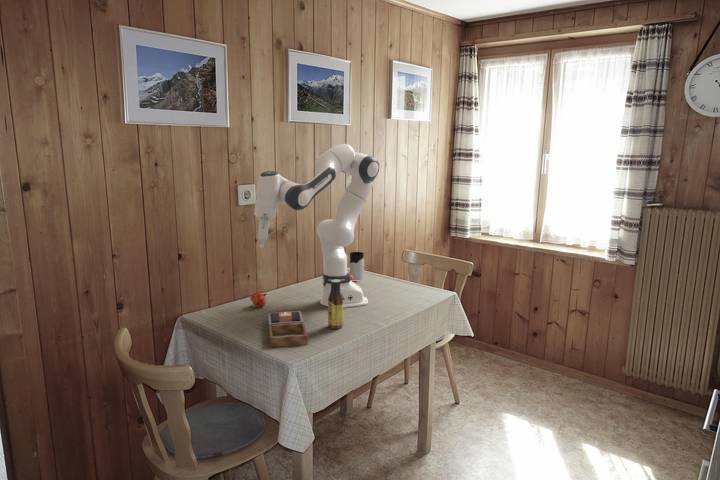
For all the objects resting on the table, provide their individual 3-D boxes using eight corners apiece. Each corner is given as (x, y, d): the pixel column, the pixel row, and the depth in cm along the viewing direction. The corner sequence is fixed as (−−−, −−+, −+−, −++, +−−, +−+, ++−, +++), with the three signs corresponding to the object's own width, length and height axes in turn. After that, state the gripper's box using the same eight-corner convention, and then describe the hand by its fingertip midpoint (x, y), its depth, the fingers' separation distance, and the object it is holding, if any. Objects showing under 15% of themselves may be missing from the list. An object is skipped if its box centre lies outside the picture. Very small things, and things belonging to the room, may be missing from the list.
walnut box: (304, 331, 202) (303, 322, 201) (307, 344, 189) (307, 335, 188) (269, 333, 199) (269, 325, 199) (270, 346, 186) (270, 338, 185)
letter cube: (291, 323, 211) (291, 311, 210) (292, 327, 207) (291, 315, 206) (279, 323, 210) (278, 312, 209) (279, 328, 206) (279, 316, 205)
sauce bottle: (327, 324, 210) (327, 278, 206) (342, 324, 210) (342, 277, 206) (328, 330, 203) (327, 282, 200) (343, 329, 204) (343, 282, 200)
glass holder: (359, 282, 273) (359, 255, 270) (337, 279, 280) (337, 252, 277) (367, 279, 280) (367, 252, 278) (346, 275, 287) (345, 249, 285)
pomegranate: (251, 315, 228) (269, 302, 227) (242, 302, 227) (259, 289, 226) (256, 311, 235) (272, 299, 234) (246, 299, 235) (263, 286, 234)
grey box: (300, 318, 216) (300, 310, 216) (303, 329, 203) (303, 321, 203) (268, 320, 214) (268, 312, 213) (269, 332, 201) (269, 323, 200)
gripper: (272, 218, 193) (269, 252, 197) (274, 207, 213) (270, 238, 216) (256, 216, 192) (252, 251, 196) (259, 205, 212) (255, 236, 215)
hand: (262, 244), depth 206 cm, fingers open, 8 cm apart
